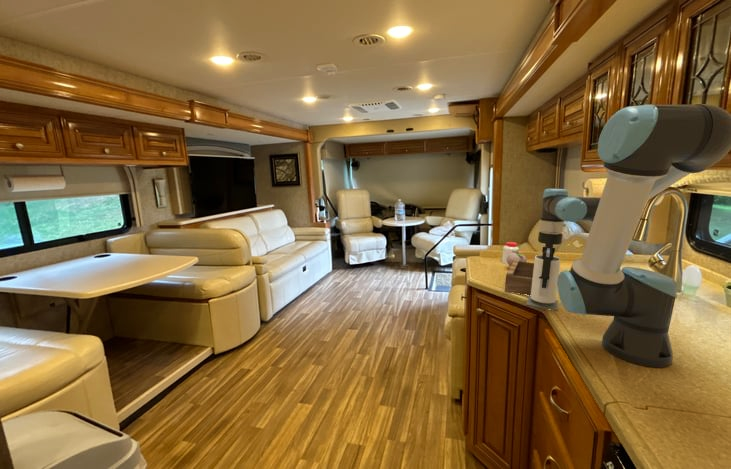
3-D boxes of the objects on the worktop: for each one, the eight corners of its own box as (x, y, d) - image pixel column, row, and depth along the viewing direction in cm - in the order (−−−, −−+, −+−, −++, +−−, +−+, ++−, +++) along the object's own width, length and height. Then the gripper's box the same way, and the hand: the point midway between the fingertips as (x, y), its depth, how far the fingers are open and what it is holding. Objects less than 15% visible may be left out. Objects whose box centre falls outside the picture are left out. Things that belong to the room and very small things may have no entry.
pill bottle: (500, 263, 177) (502, 243, 174) (503, 260, 183) (505, 240, 181) (515, 265, 172) (517, 245, 170) (518, 262, 178) (520, 242, 176)
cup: (551, 305, 118) (557, 262, 114) (527, 299, 123) (532, 257, 120) (557, 298, 124) (563, 257, 120) (534, 293, 129) (538, 253, 126)
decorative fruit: (501, 267, 169) (503, 248, 167) (515, 266, 171) (517, 247, 169) (514, 273, 160) (516, 253, 158) (528, 271, 162) (530, 252, 160)
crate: (548, 299, 128) (551, 280, 126) (504, 291, 136) (506, 273, 134) (550, 280, 150) (552, 263, 148) (512, 274, 158) (514, 258, 156)
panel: (557, 311, 117) (557, 310, 117) (526, 305, 122) (526, 304, 122) (557, 302, 125) (557, 300, 125) (528, 296, 130) (528, 295, 130)
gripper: (562, 238, 108) (554, 303, 112) (562, 228, 125) (555, 285, 130) (537, 236, 111) (529, 299, 116) (540, 226, 129) (534, 282, 133)
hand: (543, 291), depth 123 cm, fingers closed on cup, 8 cm apart
